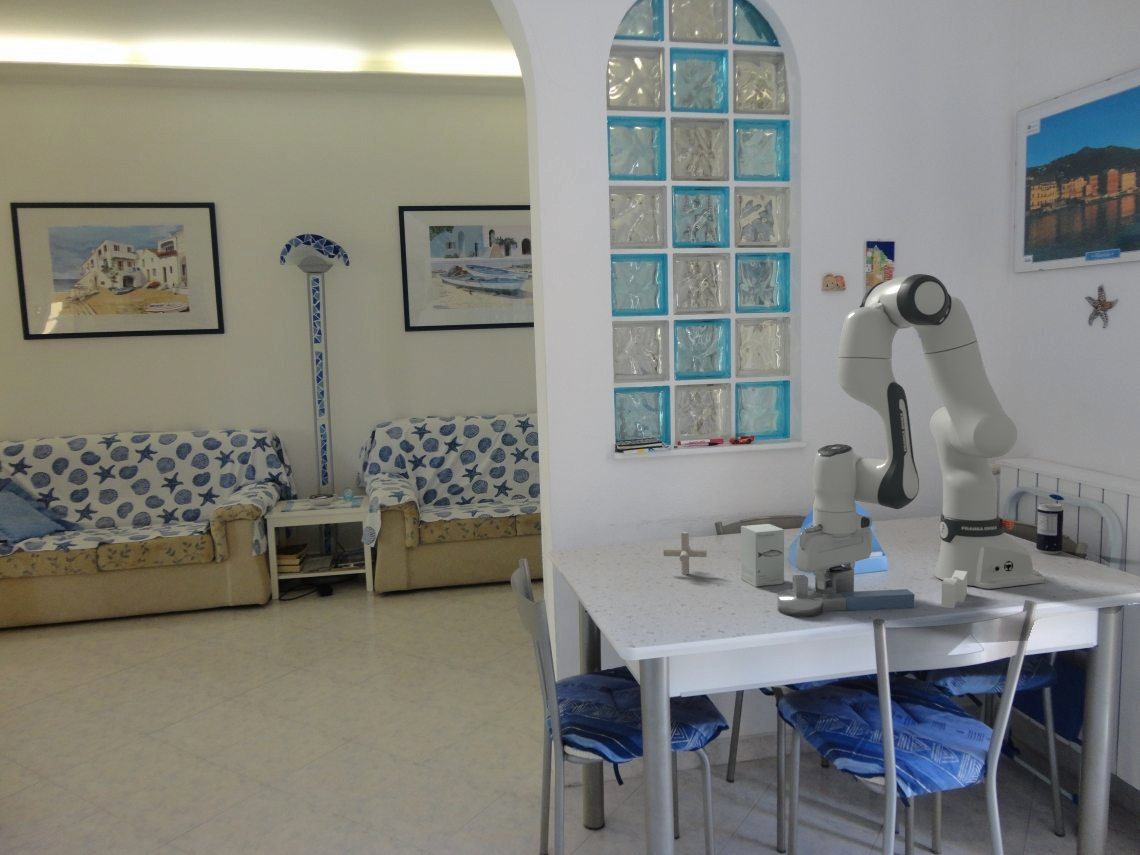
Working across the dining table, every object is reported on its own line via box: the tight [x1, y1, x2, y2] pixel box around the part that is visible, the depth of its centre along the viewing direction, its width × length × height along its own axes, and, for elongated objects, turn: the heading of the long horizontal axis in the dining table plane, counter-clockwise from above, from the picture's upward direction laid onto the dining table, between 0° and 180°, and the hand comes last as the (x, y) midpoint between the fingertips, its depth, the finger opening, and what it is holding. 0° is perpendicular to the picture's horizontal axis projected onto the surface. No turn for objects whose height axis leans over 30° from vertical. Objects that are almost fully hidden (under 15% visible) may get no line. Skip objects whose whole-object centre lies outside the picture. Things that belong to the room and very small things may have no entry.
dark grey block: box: [814, 565, 855, 594], centre depth 186 cm, size 6×6×7 cm
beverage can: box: [1035, 502, 1064, 555], centre depth 216 cm, size 6×6×12 cm
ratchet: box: [777, 574, 916, 618], centre depth 178 cm, size 28×9×7 cm, turn 93°
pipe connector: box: [663, 531, 708, 576], centre depth 206 cm, size 10×10×10 cm
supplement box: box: [740, 523, 785, 588], centre depth 198 cm, size 7×7×13 cm
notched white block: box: [940, 570, 968, 609], centre depth 181 cm, size 15×11×6 cm
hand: (834, 585), depth 186 cm, fingers closed on dark grey block, 6 cm apart
